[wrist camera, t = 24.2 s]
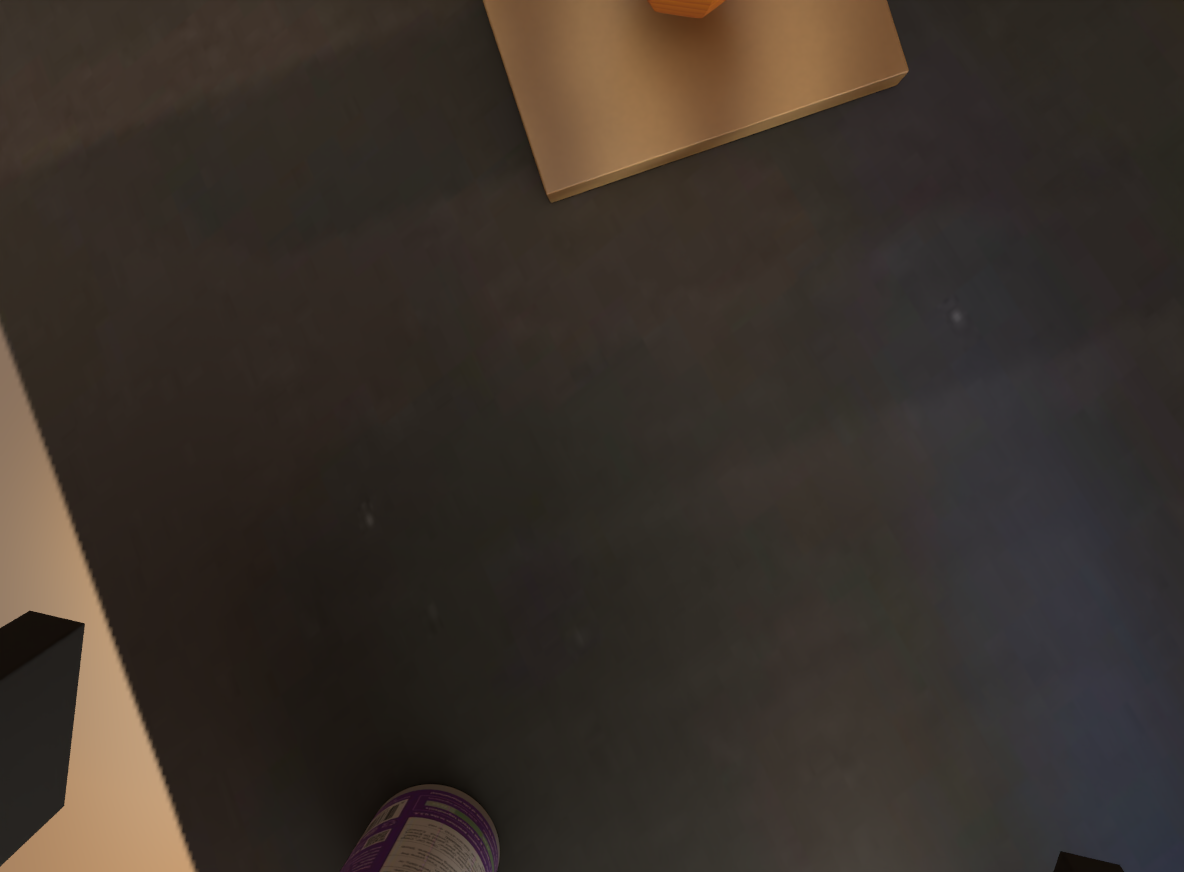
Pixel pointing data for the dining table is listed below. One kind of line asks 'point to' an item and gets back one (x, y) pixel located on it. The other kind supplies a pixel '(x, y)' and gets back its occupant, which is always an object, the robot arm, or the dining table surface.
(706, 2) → the carrot
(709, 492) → the dining table surface
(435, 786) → the container
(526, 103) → the board
